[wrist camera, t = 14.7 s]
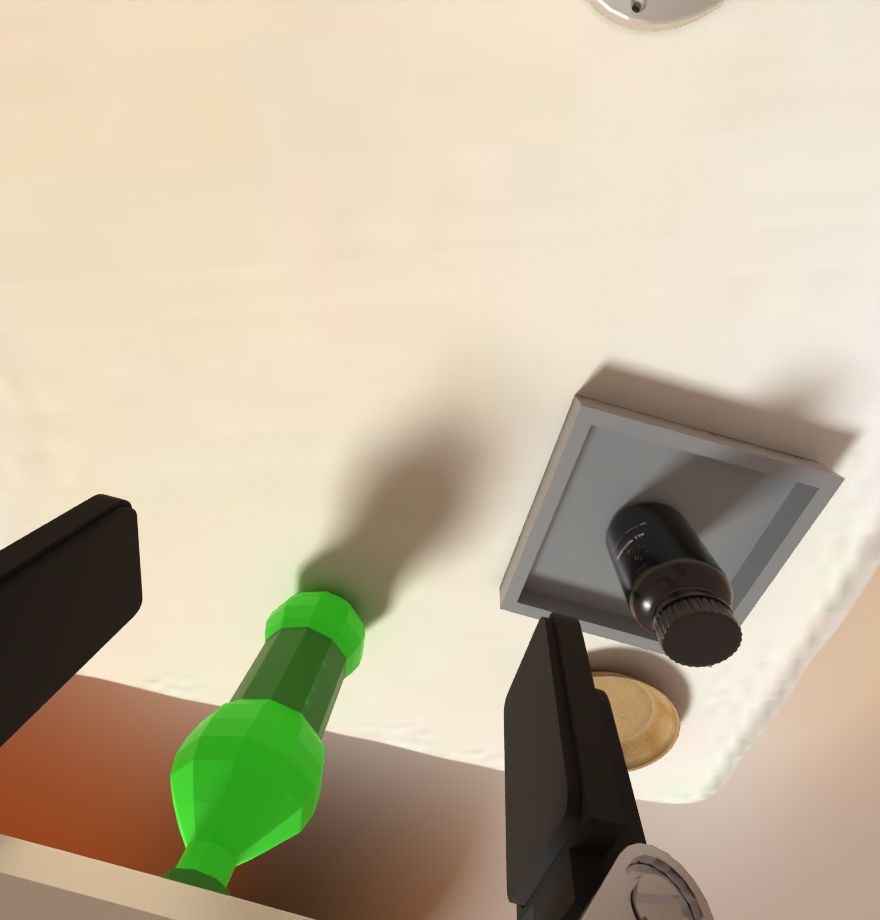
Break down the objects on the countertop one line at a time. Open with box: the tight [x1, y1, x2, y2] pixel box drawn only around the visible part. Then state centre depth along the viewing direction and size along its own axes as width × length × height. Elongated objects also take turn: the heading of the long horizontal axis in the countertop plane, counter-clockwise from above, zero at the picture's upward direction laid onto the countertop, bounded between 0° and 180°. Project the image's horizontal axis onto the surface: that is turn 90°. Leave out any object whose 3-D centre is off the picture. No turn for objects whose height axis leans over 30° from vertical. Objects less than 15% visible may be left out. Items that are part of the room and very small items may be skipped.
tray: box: [500, 395, 845, 667], centre depth 38 cm, size 20×20×3 cm
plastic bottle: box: [161, 591, 365, 896], centre depth 36 cm, size 10×11×25 cm
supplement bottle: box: [606, 502, 742, 667], centre depth 34 cm, size 7×7×12 cm
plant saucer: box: [591, 671, 680, 772], centre depth 48 cm, size 15×15×3 cm
